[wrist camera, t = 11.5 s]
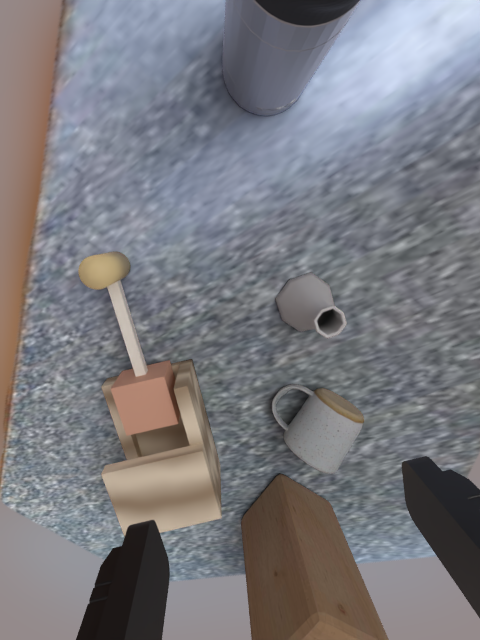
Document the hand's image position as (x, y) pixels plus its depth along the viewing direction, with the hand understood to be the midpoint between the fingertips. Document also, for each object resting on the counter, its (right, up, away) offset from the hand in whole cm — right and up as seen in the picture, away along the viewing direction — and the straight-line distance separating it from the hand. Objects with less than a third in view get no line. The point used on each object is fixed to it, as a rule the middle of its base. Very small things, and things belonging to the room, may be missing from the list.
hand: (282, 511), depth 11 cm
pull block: (-14, +4, +31) cm, 34 cm away
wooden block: (+5, -22, +40) cm, 46 cm away
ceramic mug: (+8, -6, +37) cm, 38 cm away
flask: (+7, +8, +33) cm, 35 cm away
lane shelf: (-11, -8, +35) cm, 38 cm away
